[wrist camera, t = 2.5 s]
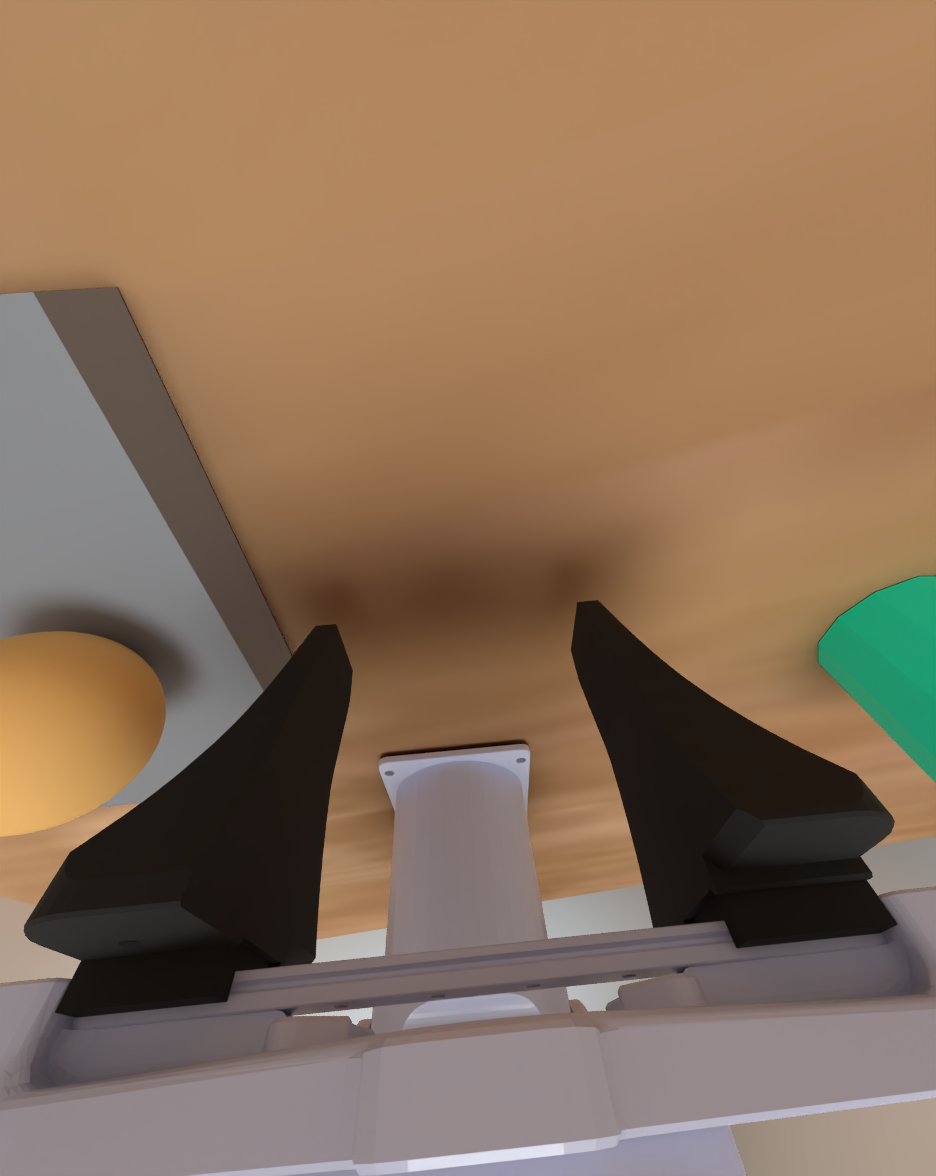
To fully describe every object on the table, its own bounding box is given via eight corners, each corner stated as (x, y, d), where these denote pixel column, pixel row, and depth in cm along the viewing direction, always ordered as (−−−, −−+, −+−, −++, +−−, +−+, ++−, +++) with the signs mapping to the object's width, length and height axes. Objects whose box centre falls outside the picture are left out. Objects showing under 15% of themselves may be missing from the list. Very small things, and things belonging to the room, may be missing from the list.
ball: (222, 698, 14) (143, 859, 10) (78, 711, 14) (-56, 879, 10) (145, 585, 11) (-8, 753, 7) (-39, 601, 11) (-292, 780, 7)
